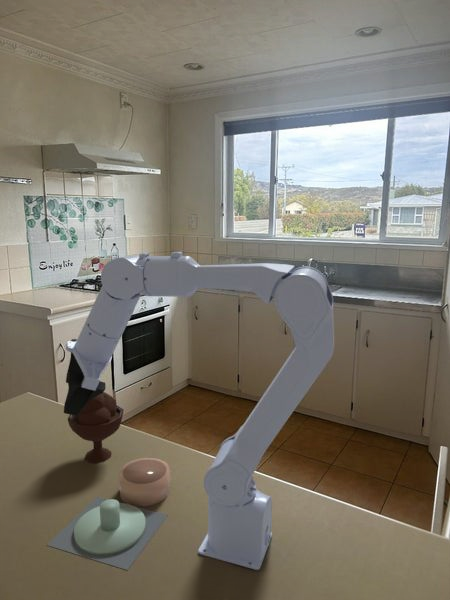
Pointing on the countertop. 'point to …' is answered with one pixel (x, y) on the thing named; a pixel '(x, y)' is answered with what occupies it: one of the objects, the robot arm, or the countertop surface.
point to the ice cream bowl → (97, 425)
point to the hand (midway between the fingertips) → (71, 397)
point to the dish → (144, 481)
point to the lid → (109, 528)
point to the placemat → (119, 559)
